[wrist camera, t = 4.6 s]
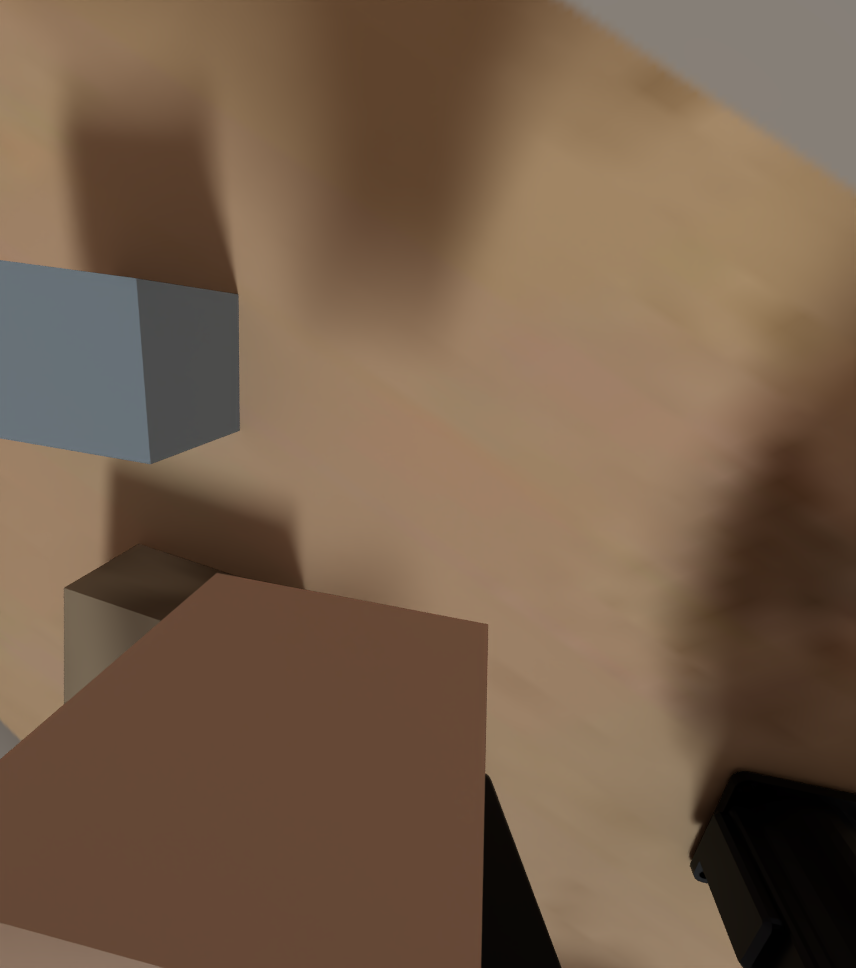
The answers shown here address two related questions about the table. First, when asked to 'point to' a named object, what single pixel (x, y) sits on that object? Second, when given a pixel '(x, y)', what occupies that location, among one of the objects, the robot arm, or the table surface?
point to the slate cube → (115, 363)
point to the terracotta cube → (256, 794)
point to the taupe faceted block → (121, 608)
